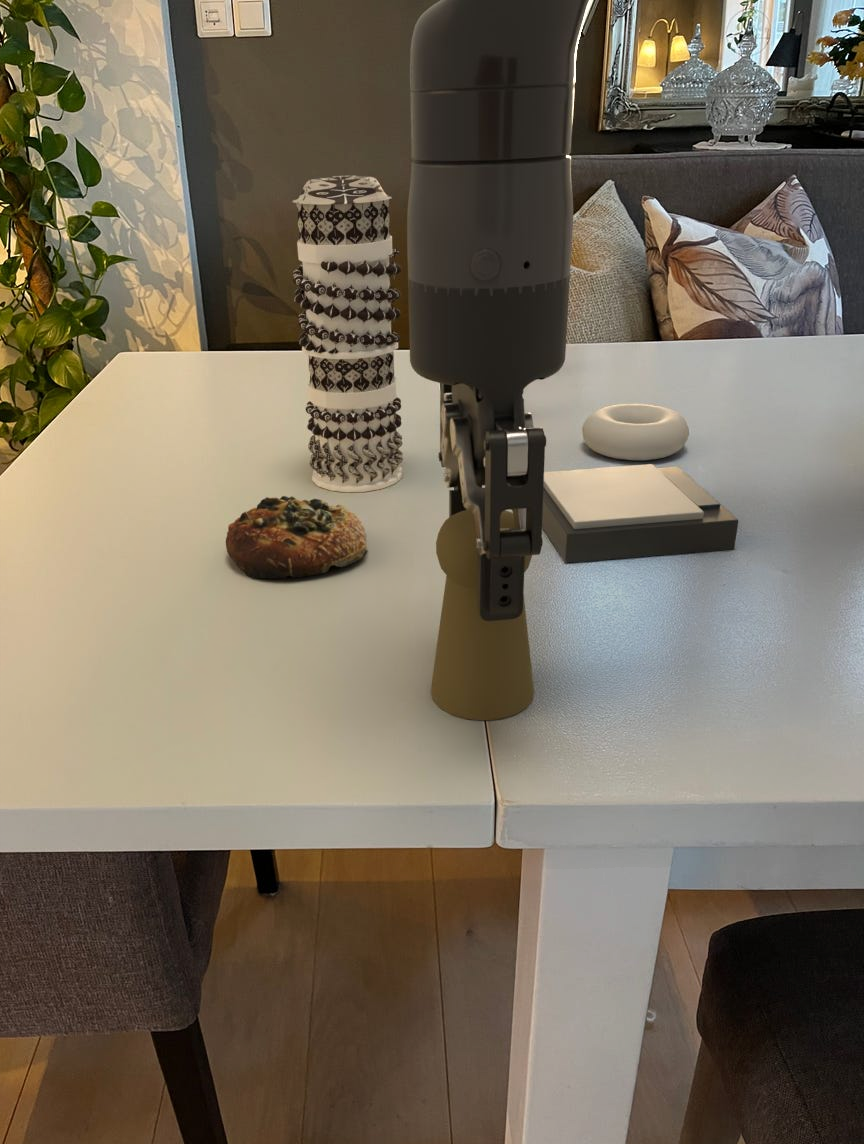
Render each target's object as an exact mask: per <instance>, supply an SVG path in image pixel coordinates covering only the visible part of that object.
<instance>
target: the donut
mask: <svg viewBox="0 0 864 1144" xmlns="http://www.w3.org/2000/svg"><path fill="white" fill-rule="evenodd" d="M581 430H582V438H583V441H584V444H586V445H587V446H588V448H589V449H590V450H591V451H593V452H595V453H598V454H600V455H602V456H604V457H607V458H612V459H616V460H624V461H651V460H652V461H653V460H659V459H664V458H667V457H670V456H672V455H674V454H677V453H678V452H679V451H680V450H682V449H683V448H684V446H685V444H686V443H687V442H688V439H689V436H690V429H689V425H688V424H687V420H686V419H685V418H684V417H683V416H682V415H681V414H680V413H678V412H676V411H675V410H672V409H669V408H667V407H665V406H664V407H663V406H658V405H653V404H645V403H621V404H614V405H608V406H604V407H601V408H600V409H597V410H595V411H593V412H591V413H590V414H589V415H588V417H586V419H585V420H584V422H583V424H582V428H581Z"/></svg>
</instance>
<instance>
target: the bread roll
mask: <svg viewBox="0 0 864 1144" xmlns="http://www.w3.org/2000/svg"><path fill="white" fill-rule="evenodd" d="M227 529H228V530H227V532H226V538H225V549H226V552H227V554H228V556H229V557H230V558H231V559H232V560H233V561H234V563H235V565H236V566H237V567H238V568H239V569H240V571H242V572H243V573H244V574H245V575H246V576H247V577H250V578H258V579H263V578H266V579H281V580H282V579H286V578H288V576H289V577H290V576H291V577H292V578H305V577H308V576H314V575H320V574H325V573H327V572H328V571H329V570H330V567H331V566H335V567H337V568H345V567H347V566H349V565H351V564H354V563H355V562H357V561H360V559H361V558H364V556H363V555H364V554H365V553H366V552H367V550H368V548H369V547H368V546H367V542H368V541H367V533H366V529H365V527H364V525H363V523H362V521H361V520H360V519H359V517H358V516H357V514H356V513H355V512H351V511H350V510H349V509H348V510H347V509H346V508H345V506H344V505H341V504H337V505H336V506H335V505H329V504H328V502H327V501H325V500H322V499H319V498H313V499H310V500H307V499H303V500H300V499H297V498H295V496H293V495H292V496H287V495H281V497H280V498H278V497H268V496H266V497H265V498H262V499H261V500H260V502H259V503H258V504H257V505H256V507H252V508H251V509H249V510H247V511H243V512H242V513H241V514H240V516H239V517H238V518H237V519H235V521H233V522H231V523H230V524H228V527H227Z"/></svg>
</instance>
